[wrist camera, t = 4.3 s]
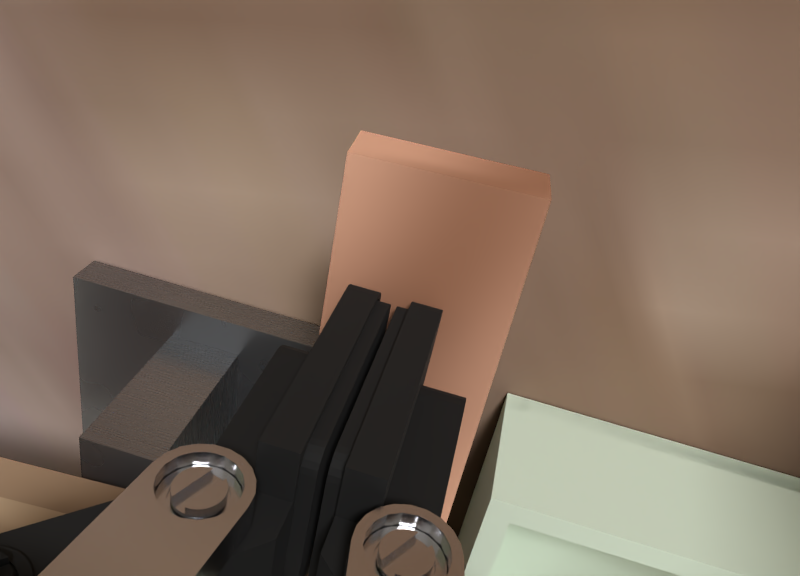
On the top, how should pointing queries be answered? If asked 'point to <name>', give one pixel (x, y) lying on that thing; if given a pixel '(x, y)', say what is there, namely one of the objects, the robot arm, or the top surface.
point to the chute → (393, 284)
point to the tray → (621, 504)
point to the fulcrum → (164, 366)
